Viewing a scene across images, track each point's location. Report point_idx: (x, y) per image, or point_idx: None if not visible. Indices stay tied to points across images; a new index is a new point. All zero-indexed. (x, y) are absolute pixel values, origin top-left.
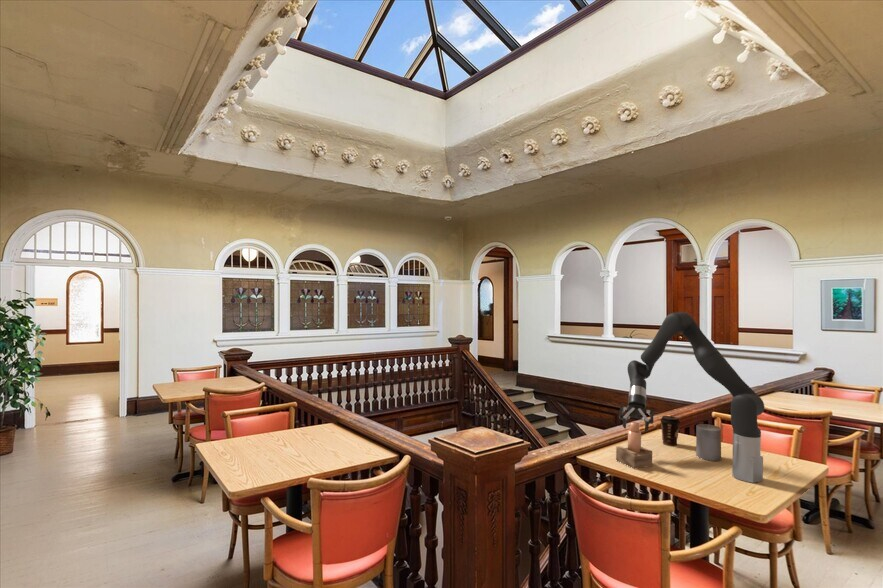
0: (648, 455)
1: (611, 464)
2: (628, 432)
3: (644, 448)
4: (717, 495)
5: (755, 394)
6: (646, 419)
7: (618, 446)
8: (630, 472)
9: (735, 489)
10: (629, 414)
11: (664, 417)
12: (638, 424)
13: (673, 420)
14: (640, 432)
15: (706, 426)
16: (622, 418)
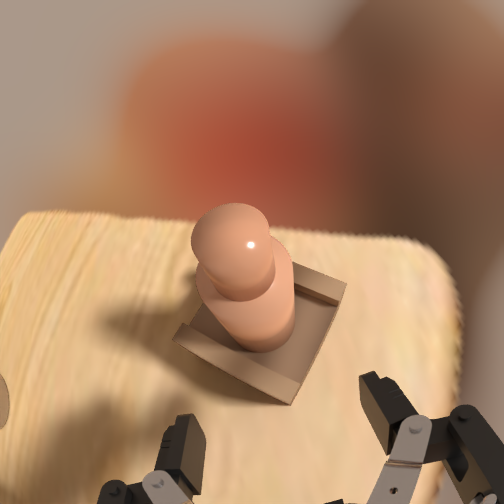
0: (193, 322)
1: (332, 258)
2: (282, 248)
3: (214, 359)
4: (54, 239)
5: None
6: (164, 489)
7: (338, 290)
8: None
9: (18, 302)
10: (379, 481)
11: None
12: (195, 229)
13: None
14: (200, 275)
15: None
16: (427, 419)
